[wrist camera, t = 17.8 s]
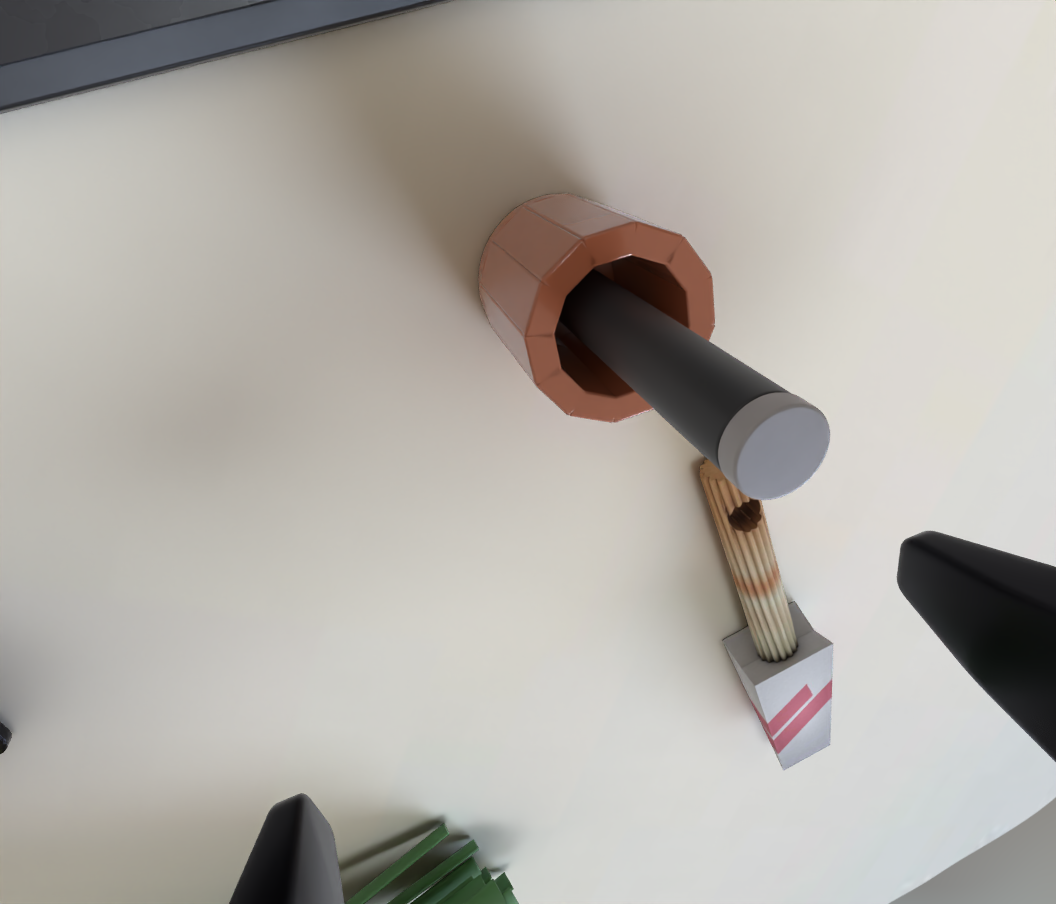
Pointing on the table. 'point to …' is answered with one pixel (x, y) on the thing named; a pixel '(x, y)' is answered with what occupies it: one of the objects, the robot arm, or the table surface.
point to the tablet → (151, 37)
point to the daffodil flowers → (456, 900)
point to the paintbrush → (771, 631)
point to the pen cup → (557, 267)
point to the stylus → (701, 390)
